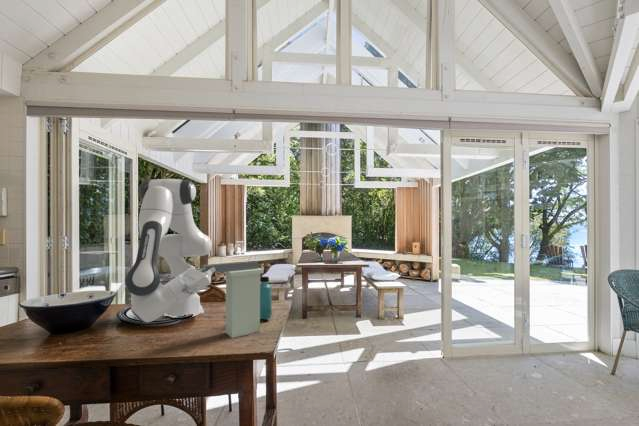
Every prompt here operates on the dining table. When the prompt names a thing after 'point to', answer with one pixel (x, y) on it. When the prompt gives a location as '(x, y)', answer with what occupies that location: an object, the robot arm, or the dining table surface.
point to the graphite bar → (232, 266)
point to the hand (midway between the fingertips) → (212, 267)
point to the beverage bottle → (265, 299)
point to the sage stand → (243, 302)
